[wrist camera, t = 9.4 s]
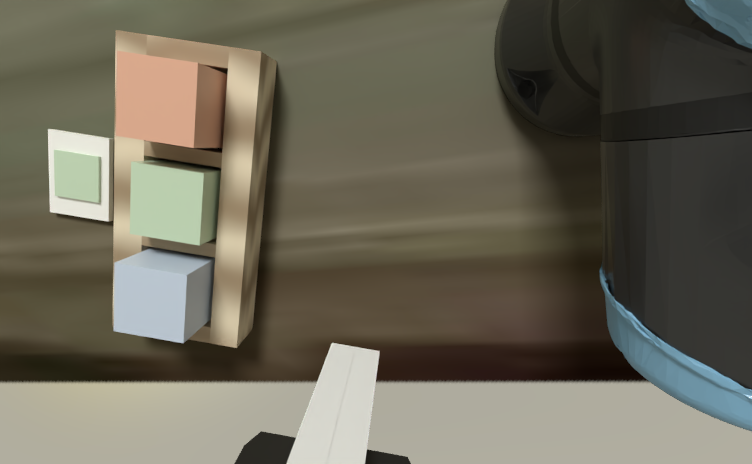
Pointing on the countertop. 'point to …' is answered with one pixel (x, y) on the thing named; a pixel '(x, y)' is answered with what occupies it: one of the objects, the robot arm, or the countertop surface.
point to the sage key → (174, 201)
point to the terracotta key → (169, 101)
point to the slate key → (163, 294)
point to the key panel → (237, 185)
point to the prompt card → (81, 174)
